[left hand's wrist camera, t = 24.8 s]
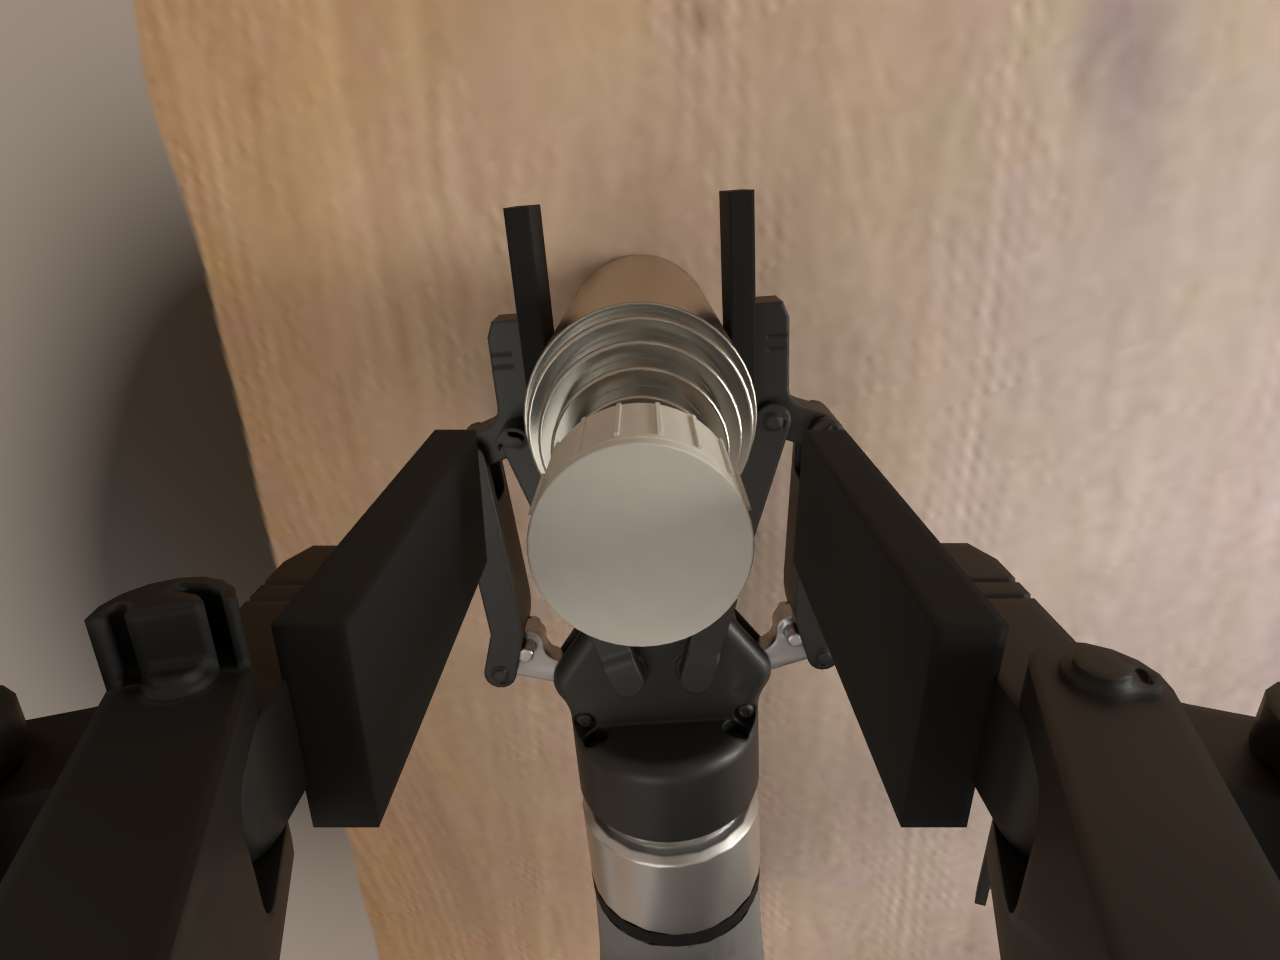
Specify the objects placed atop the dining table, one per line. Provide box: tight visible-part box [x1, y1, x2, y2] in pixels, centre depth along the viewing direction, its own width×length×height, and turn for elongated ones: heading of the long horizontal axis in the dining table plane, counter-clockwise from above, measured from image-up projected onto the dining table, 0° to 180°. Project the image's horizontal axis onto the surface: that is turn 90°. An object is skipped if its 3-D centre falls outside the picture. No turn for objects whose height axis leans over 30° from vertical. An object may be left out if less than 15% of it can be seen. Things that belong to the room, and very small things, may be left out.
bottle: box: [524, 255, 757, 476], centre depth 22 cm, size 6×6×20 cm
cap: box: [527, 402, 754, 647], centre depth 13 cm, size 4×4×2 cm
